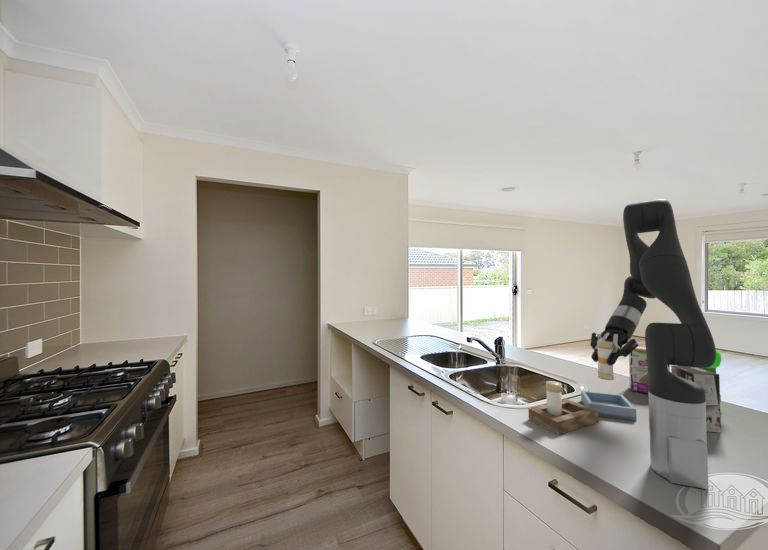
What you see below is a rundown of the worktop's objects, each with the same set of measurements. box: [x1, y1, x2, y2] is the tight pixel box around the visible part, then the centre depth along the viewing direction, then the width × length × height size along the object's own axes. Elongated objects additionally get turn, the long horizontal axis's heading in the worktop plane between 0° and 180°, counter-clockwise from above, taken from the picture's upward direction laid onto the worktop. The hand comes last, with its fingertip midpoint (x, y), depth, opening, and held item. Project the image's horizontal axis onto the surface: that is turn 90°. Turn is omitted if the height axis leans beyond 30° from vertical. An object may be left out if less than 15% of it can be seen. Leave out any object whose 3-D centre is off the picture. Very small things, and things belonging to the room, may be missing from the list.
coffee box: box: [670, 365, 722, 434], centre depth 90 cm, size 9×6×16 cm
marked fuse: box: [597, 339, 615, 381], centre depth 100 cm, size 4×4×12 cm
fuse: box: [545, 380, 563, 417], centre depth 92 cm, size 4×4×12 cm
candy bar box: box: [628, 346, 671, 394], centre depth 114 cm, size 11×5×16 cm, turn 58°
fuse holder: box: [528, 398, 599, 436], centre depth 93 cm, size 17×10×4 cm, turn 113°
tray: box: [580, 390, 637, 422], centre depth 100 cm, size 12×12×4 cm
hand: (601, 361), depth 100 cm, fingers closed on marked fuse, 4 cm apart
